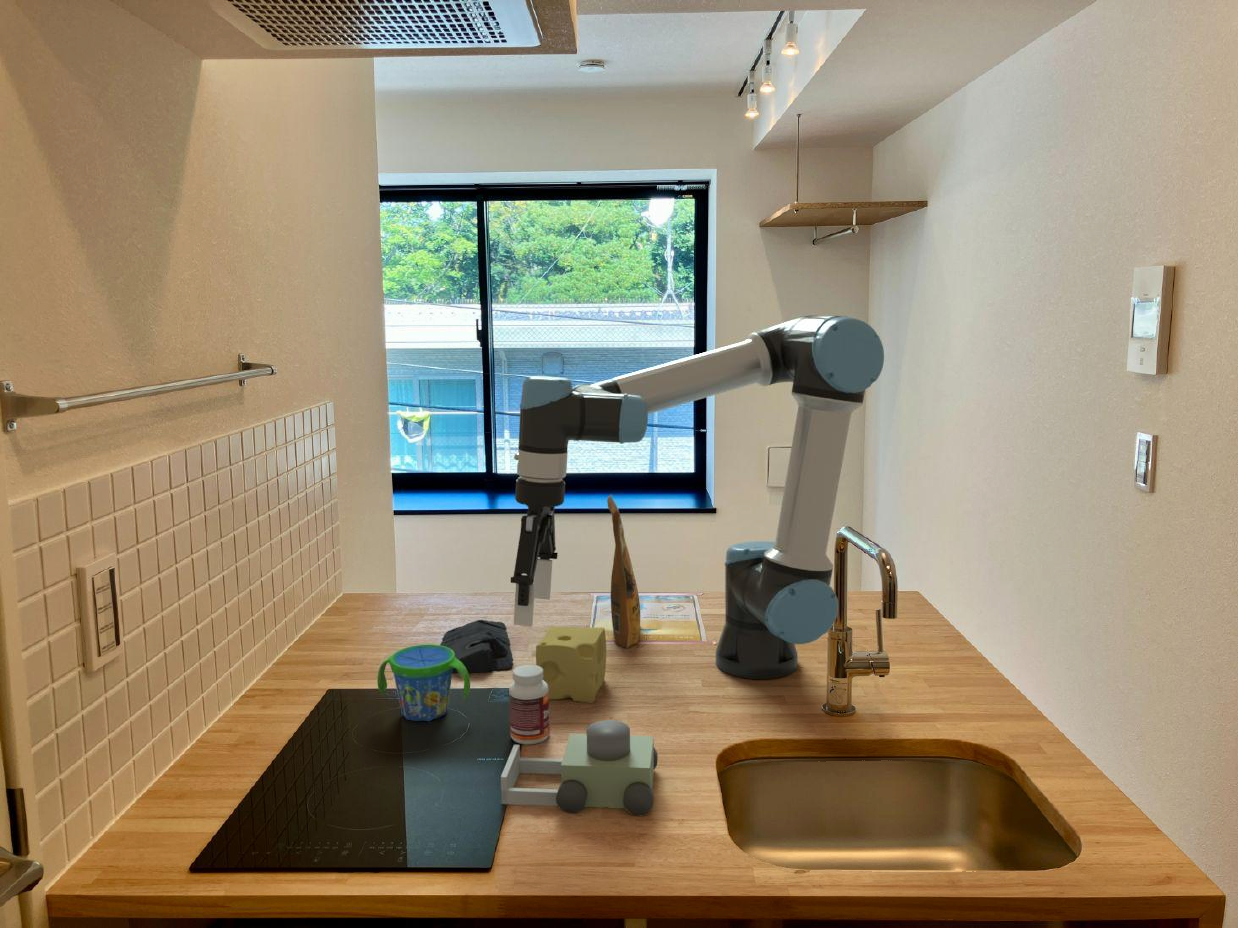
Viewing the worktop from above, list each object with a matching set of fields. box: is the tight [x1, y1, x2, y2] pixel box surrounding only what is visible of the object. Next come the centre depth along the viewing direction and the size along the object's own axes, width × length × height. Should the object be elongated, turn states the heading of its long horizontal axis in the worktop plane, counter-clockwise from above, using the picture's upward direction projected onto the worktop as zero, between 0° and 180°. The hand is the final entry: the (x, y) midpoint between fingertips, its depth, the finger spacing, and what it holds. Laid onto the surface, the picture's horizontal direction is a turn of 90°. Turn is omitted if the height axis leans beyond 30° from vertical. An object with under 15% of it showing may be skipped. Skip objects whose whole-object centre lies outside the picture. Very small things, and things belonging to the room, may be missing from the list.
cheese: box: [535, 625, 607, 704], centre depth 160 cm, size 10×11×10 cm
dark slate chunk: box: [439, 619, 514, 675], centre depth 179 cm, size 15×22×5 cm
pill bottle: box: [508, 664, 551, 746], centre depth 143 cm, size 6×6×11 cm
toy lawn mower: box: [500, 719, 659, 817], centre depth 128 cm, size 21×12×9 cm, turn 85°
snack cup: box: [376, 644, 471, 722], centre depth 152 cm, size 16×10×10 cm
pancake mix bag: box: [606, 493, 641, 649], centre depth 185 cm, size 7×19×28 cm, turn 178°
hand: (532, 611), depth 143 cm, fingers open, 13 cm apart
